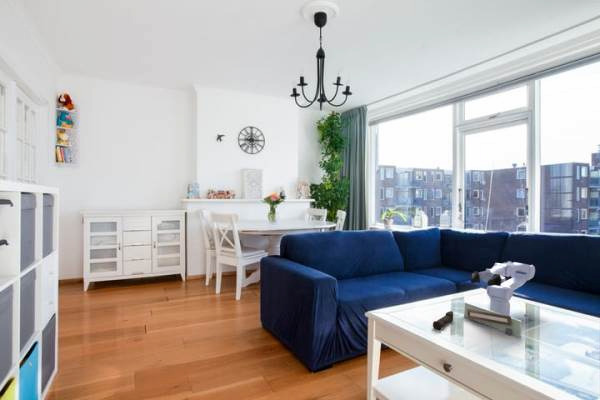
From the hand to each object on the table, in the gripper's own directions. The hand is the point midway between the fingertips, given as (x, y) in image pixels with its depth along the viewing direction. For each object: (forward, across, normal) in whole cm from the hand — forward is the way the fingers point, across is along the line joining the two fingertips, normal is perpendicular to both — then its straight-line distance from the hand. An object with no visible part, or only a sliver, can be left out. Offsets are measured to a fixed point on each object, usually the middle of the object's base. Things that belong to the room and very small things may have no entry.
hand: (479, 282), depth 155 cm
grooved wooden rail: (0, +2, +18) cm, 18 cm away
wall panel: (-1, +2, +21) cm, 21 cm away
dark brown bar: (+16, -11, +18) cm, 26 cm away
